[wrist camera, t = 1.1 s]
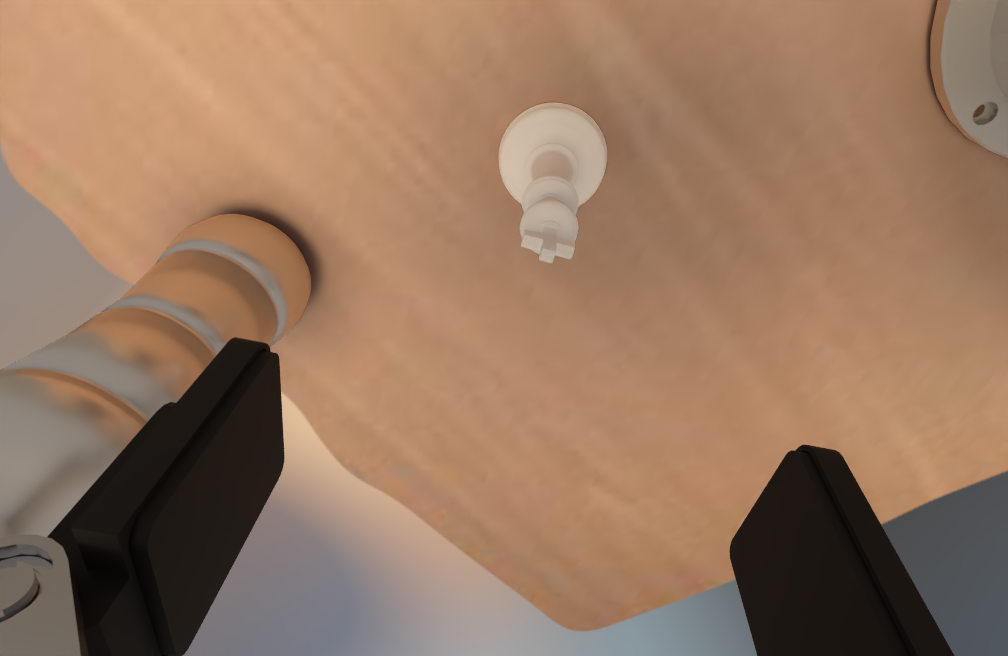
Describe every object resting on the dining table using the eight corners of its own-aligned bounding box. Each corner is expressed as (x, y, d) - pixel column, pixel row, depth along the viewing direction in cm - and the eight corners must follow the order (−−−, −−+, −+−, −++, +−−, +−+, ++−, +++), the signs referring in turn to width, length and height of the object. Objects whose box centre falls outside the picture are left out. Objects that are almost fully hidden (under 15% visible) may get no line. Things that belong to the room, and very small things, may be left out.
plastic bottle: (291, 332, 33) (15, 722, 16) (180, 263, 31) (-263, 626, 14) (345, 253, 30) (73, 636, 13) (225, 172, 28) (-269, 499, 11)
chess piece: (513, 88, 25) (487, 159, 17) (622, 118, 25) (652, 202, 17) (488, 195, 28) (455, 301, 19) (587, 221, 28) (598, 337, 20)
